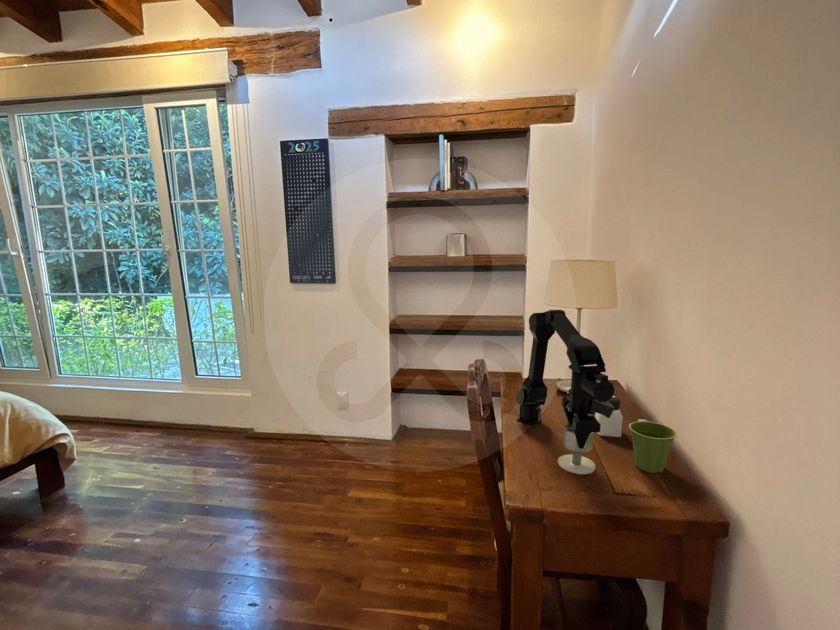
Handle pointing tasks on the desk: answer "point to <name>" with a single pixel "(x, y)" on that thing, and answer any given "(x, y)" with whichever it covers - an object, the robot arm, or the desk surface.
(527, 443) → the desk surface
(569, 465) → the hub post
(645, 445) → the plant pot
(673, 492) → the desk surface
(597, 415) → the medicine bottle
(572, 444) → the ring
